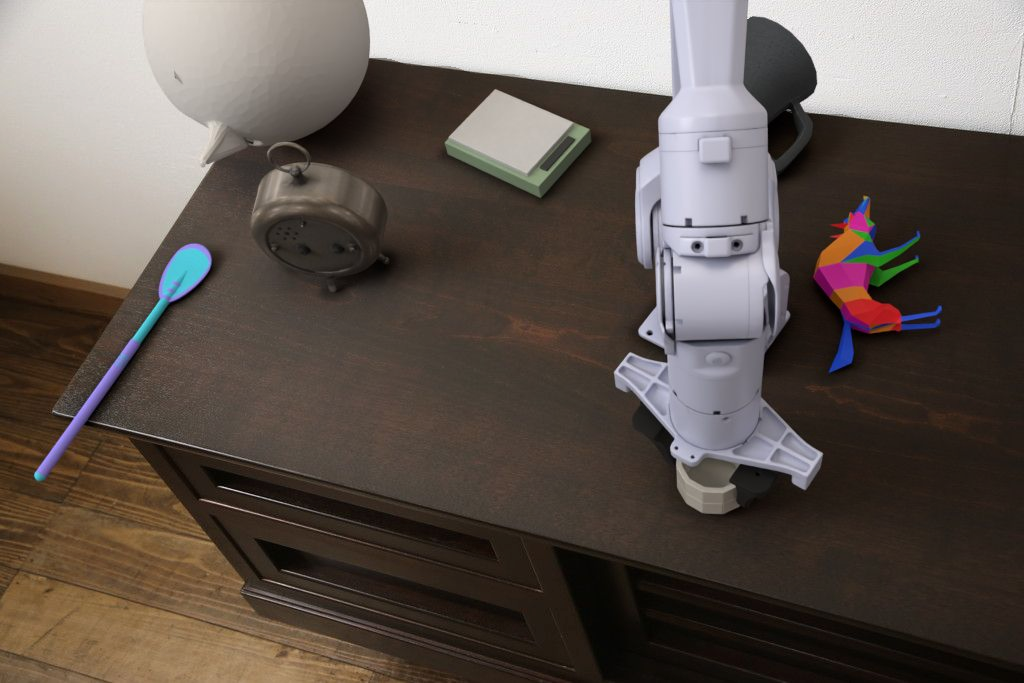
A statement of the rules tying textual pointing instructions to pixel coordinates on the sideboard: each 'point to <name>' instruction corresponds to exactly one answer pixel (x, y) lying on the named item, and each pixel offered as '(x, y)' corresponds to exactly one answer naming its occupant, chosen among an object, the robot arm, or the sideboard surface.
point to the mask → (257, 65)
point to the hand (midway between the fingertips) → (713, 475)
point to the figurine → (862, 281)
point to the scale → (518, 142)
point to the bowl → (708, 485)
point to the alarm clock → (318, 219)
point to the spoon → (137, 338)
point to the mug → (779, 78)
